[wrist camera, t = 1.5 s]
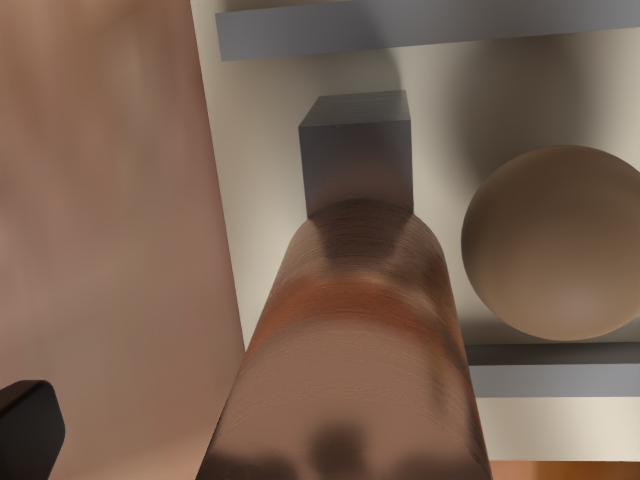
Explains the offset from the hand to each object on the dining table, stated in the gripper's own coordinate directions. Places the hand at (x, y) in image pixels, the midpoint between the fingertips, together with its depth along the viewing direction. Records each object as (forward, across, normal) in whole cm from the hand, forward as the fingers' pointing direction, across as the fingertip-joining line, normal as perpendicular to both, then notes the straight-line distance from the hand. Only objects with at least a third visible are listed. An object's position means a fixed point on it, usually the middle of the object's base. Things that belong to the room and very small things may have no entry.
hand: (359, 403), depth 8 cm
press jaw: (+7, 0, 0) cm, 7 cm away
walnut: (+7, -4, 0) cm, 8 cm away
